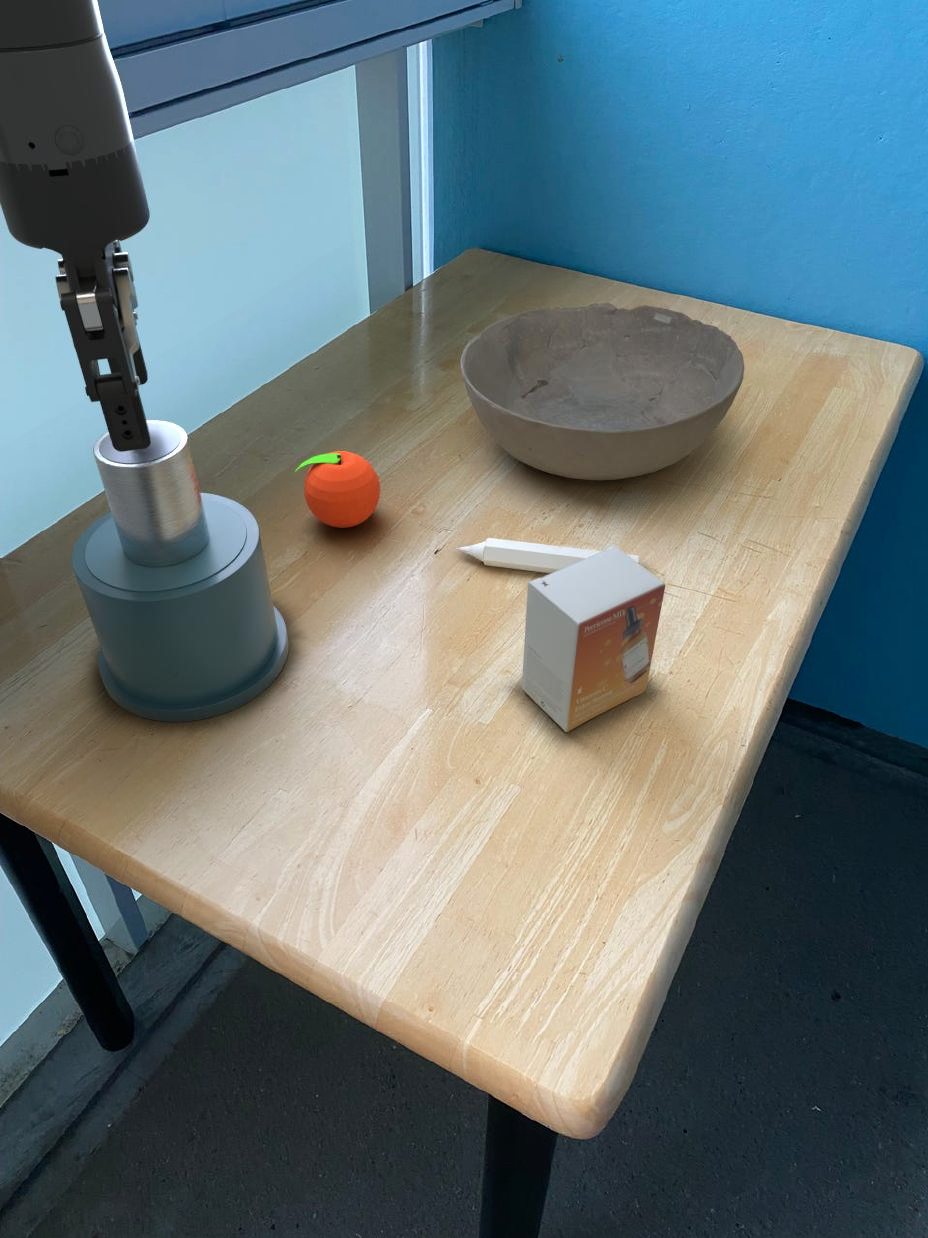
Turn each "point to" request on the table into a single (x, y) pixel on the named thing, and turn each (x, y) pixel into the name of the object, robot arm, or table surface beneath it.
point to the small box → (590, 636)
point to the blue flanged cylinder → (184, 619)
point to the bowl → (601, 387)
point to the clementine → (341, 488)
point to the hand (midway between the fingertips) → (132, 413)
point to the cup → (154, 497)
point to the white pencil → (527, 555)
